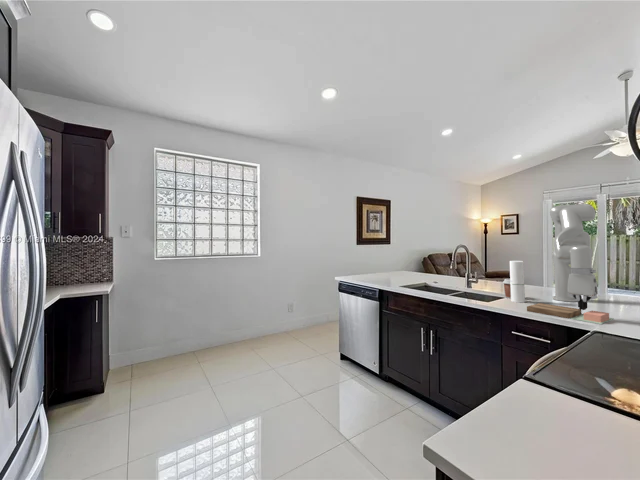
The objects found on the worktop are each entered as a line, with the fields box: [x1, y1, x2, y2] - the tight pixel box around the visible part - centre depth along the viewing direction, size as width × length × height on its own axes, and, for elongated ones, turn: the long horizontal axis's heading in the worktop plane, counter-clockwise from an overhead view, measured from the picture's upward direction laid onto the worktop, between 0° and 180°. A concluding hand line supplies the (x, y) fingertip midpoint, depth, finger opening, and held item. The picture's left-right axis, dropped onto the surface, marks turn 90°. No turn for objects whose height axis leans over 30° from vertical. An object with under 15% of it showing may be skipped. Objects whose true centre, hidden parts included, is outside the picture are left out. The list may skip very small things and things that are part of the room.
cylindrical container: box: [509, 260, 526, 304], centre depth 175 cm, size 7×7×25 cm
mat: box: [569, 313, 615, 325], centre depth 134 cm, size 15×11×1 cm
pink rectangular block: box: [583, 310, 610, 323], centre depth 132 cm, size 9×6×3 cm, turn 117°
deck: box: [526, 302, 583, 320], centre depth 147 cm, size 14×18×2 cm
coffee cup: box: [502, 278, 511, 300], centre depth 185 cm, size 9×9×12 cm
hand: (582, 309), depth 136 cm, fingers closed
